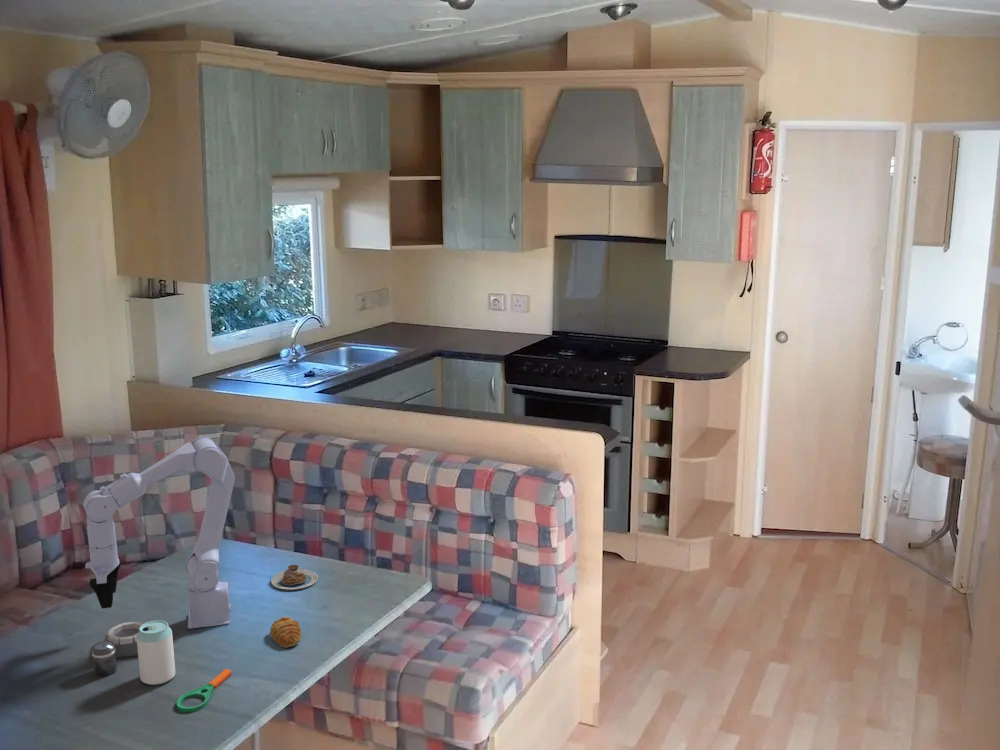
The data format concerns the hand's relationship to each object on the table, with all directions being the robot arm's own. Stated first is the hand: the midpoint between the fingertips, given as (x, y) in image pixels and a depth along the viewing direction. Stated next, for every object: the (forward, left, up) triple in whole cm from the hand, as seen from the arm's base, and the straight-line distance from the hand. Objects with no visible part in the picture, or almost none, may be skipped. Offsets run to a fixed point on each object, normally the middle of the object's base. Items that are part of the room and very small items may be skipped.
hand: (108, 599), depth 219 cm
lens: (0, +15, -10) cm, 18 cm away
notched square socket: (-4, +5, -10) cm, 12 cm away
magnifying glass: (-21, +29, -10) cm, 37 cm away
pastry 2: (-42, -20, -11) cm, 48 cm away
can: (-11, +21, -10) cm, 25 cm away
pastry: (-39, +10, -10) cm, 41 cm away
